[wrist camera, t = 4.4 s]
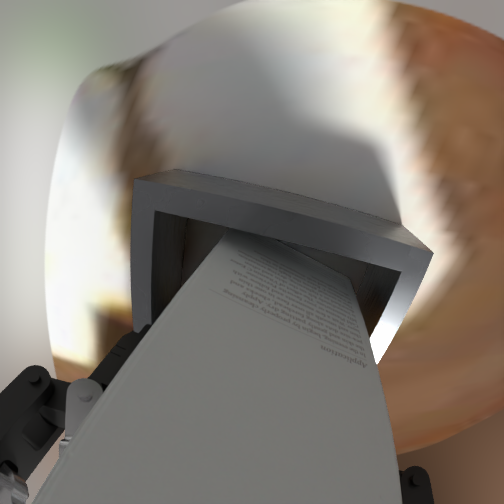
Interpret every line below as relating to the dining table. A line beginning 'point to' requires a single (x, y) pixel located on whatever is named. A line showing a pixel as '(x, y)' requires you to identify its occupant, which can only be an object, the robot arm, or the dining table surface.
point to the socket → (274, 226)
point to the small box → (241, 395)
